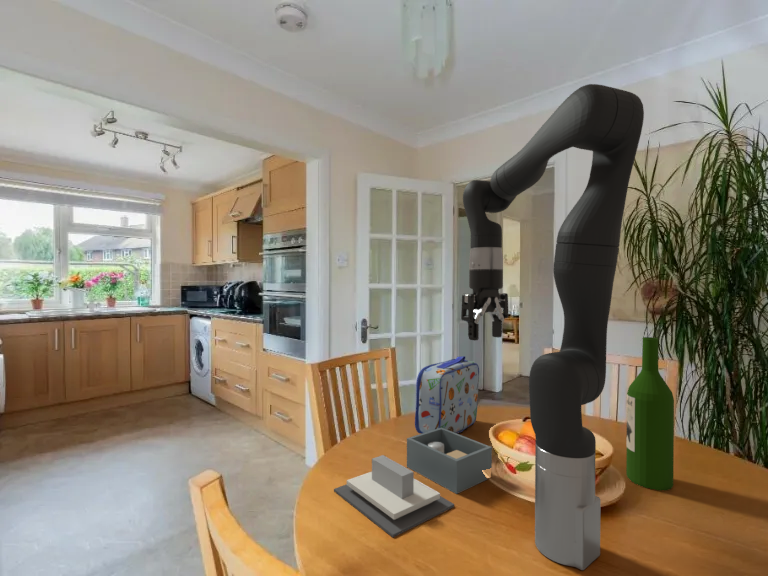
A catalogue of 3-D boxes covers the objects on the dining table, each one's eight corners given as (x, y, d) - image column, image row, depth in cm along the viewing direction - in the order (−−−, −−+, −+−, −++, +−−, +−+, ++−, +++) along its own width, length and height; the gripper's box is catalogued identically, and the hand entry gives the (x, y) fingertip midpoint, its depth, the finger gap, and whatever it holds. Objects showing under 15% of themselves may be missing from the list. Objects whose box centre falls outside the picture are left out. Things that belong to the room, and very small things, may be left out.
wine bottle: (620, 470, 96) (621, 334, 96) (661, 473, 94) (663, 336, 94) (635, 488, 88) (636, 340, 87) (681, 492, 86) (683, 341, 85)
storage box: (491, 477, 92) (491, 447, 92) (456, 494, 85) (456, 461, 85) (441, 454, 105) (441, 427, 105) (406, 466, 98) (406, 438, 98)
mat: (454, 506, 80) (454, 504, 80) (392, 537, 70) (392, 534, 70) (391, 470, 96) (391, 467, 96) (333, 491, 86) (333, 488, 86)
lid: (440, 503, 81) (440, 471, 80) (394, 525, 73) (394, 489, 73) (390, 473, 93) (390, 445, 93) (346, 489, 86) (346, 459, 86)
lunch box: (454, 414, 137) (454, 350, 137) (483, 421, 131) (483, 353, 131) (410, 439, 115) (410, 363, 115) (442, 448, 109) (442, 367, 109)
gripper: (479, 266, 85) (479, 343, 85) (518, 268, 94) (517, 337, 94) (452, 267, 91) (452, 339, 91) (491, 269, 99) (491, 334, 100)
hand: (485, 338), depth 92 cm, fingers open, 8 cm apart
